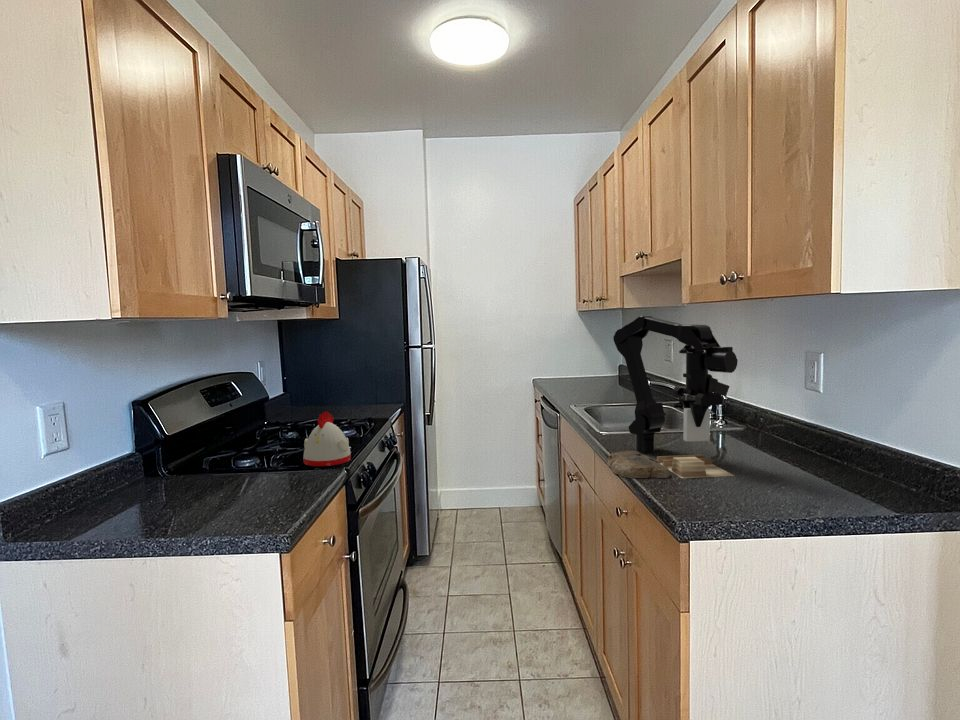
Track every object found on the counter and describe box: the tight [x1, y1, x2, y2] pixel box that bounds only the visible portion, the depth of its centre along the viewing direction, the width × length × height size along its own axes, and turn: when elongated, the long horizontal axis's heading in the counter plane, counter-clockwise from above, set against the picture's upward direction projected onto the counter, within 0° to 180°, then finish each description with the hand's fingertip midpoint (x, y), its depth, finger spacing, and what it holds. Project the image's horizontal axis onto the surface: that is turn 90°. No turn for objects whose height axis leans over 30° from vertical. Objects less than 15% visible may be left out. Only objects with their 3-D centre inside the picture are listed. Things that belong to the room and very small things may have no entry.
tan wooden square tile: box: [672, 466, 706, 478], centre depth 142 cm, size 6×6×1 cm
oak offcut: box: [672, 462, 705, 472], centre depth 142 cm, size 6×6×1 cm
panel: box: [682, 407, 711, 443], centre depth 152 cm, size 2×7×9 cm, turn 94°
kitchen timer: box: [303, 411, 352, 467], centre depth 166 cm, size 14×14×15 cm
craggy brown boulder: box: [606, 450, 671, 479], centre depth 148 cm, size 14×5×20 cm
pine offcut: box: [673, 457, 704, 467], centre depth 142 cm, size 5×6×1 cm
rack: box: [655, 454, 735, 479], centre depth 147 cm, size 18×14×2 cm
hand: (696, 426), depth 152 cm, fingers closed on panel, 2 cm apart
